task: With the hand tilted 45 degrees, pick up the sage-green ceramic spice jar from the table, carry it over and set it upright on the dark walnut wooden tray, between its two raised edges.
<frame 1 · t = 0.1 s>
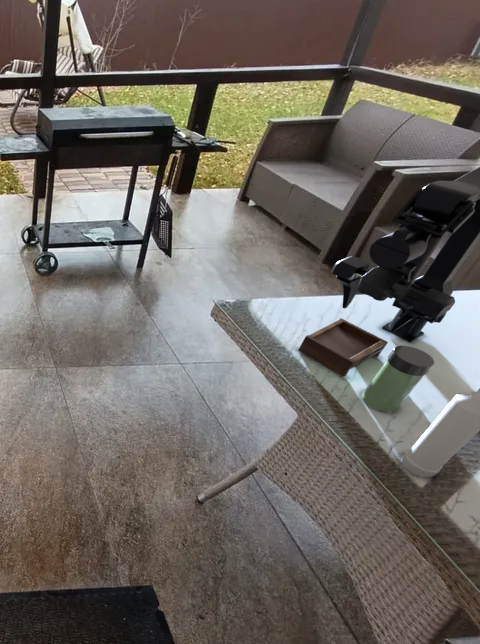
hand: (367, 319, 97), 15 cm above the table, tool pointing down, fingers open, 9 cm apart
wooden tray: (337, 353, 110), on the table
bottle: (416, 466, 86), on the table
spice jar: (378, 401, 98), on the table
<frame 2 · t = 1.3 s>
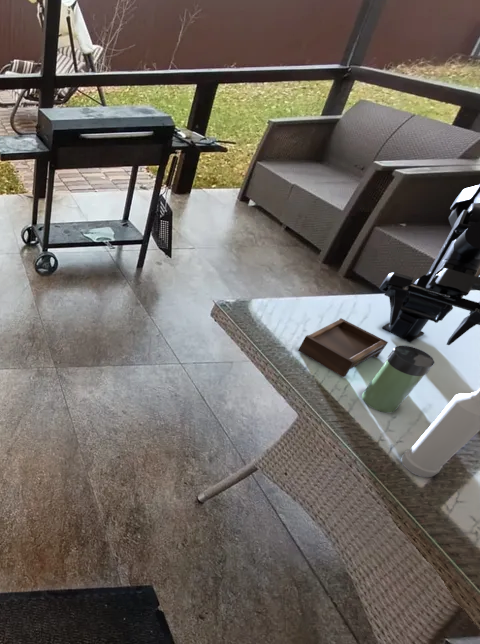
hand: (419, 334, 95), 13 cm above the table, tool tilted 45°, fingers open, 9 cm apart
nothing on the table moved.
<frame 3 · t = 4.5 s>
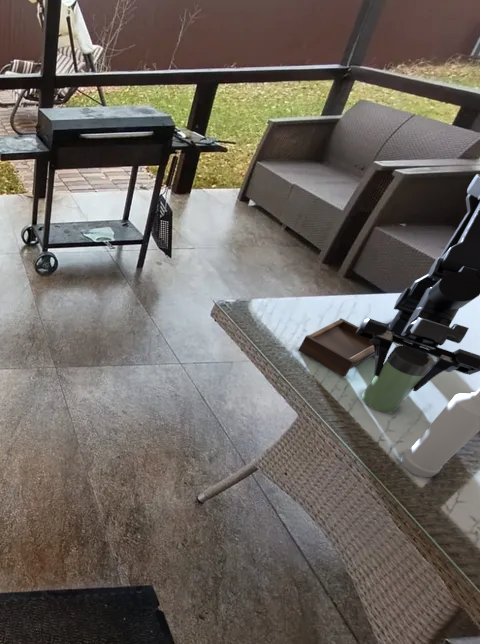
hand: (394, 383, 93), 7 cm above the table, tool tilted 45°, fingers closed on spice jar, 6 cm apart
spice jar: (378, 401, 98), on the table, touching gripper
everything else where it was.
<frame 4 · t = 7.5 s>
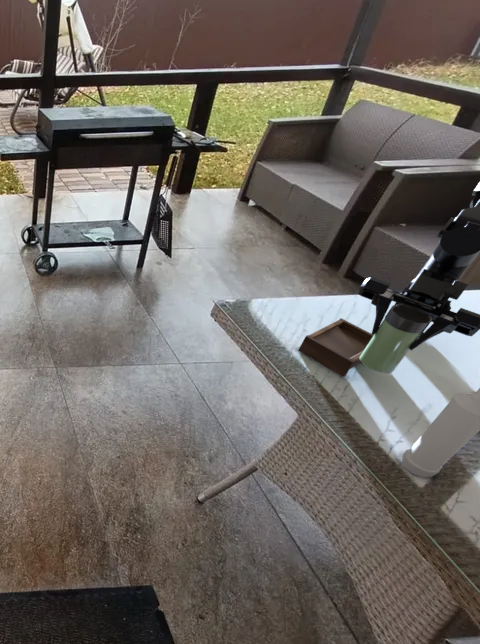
hand: (391, 341, 93), 14 cm above the table, tool tilted 45°, fingers closed on spice jar, 6 cm apart
spice jar: (376, 362, 97), point 7 cm above the table, touching gripper
everything else where it was.
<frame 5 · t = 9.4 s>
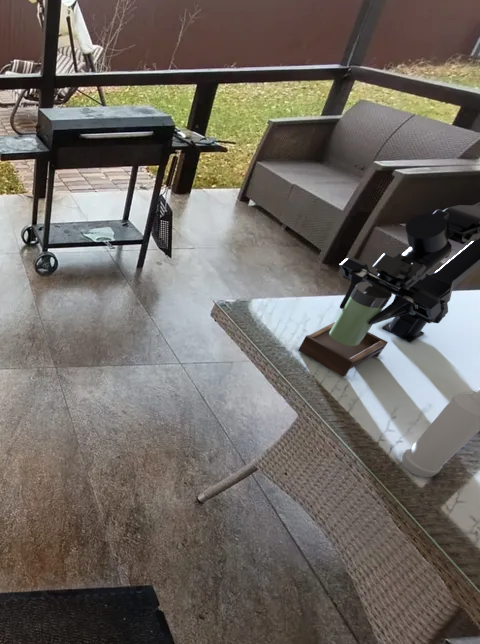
hand: (354, 315, 102), 12 cm above the table, tool tilted 45°, fingers closed on spice jar, 6 cm apart
spice jar: (344, 337, 106), point 6 cm above the table, touching gripper
everything else where it was.
when the fingers open (10 cm above the table, at t = 10.8 s): spice jar stays where it is, resting on wooden tray.
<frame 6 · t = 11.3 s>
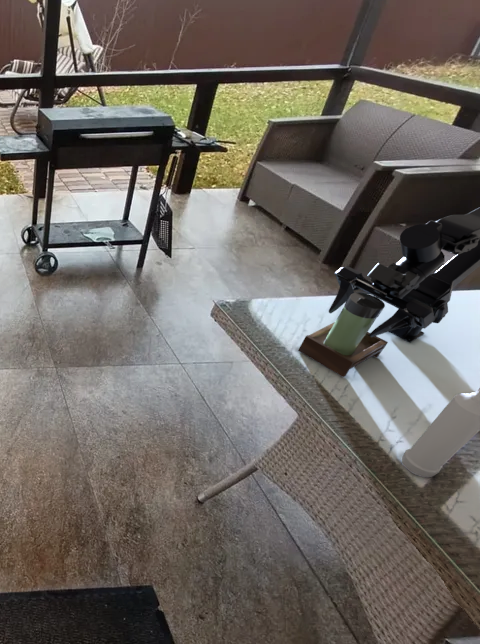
hand: (349, 323, 103), 10 cm above the table, tool tilted 45°, fingers open, 9 cm apart
spice jar: (338, 346, 108), point 3 cm above the table, touching wooden tray
everything else where it was.
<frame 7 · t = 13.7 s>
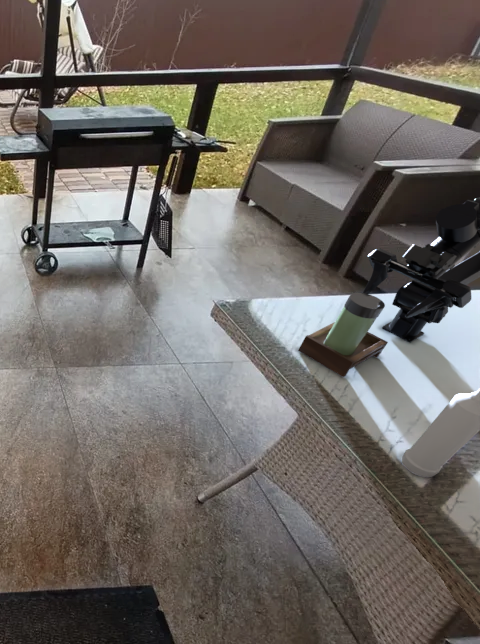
hand: (384, 305, 104), 13 cm above the table, tool tilted 45°, fingers open, 9 cm apart
nothing on the table moved.
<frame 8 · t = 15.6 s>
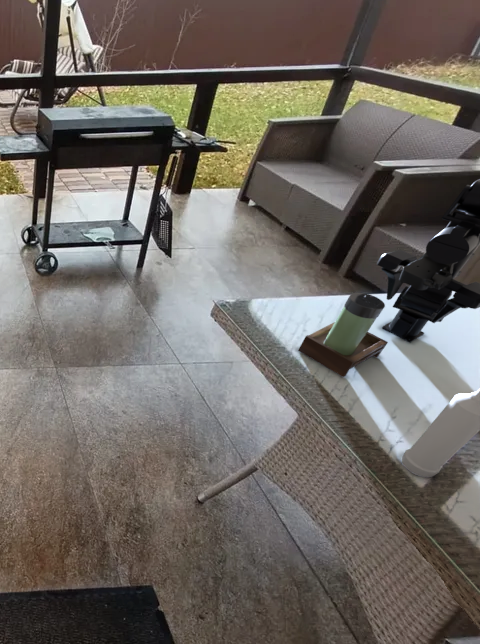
hand: (410, 310, 102), 13 cm above the table, tool pointing down, fingers open, 9 cm apart
nothing on the table moved.
at the end: spice jar 0.8 cm from the target spot on the wooden tray, point 3.0 cm above the wooden tray's base; spice jar tilted 0°; the gripper is holding nothing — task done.
